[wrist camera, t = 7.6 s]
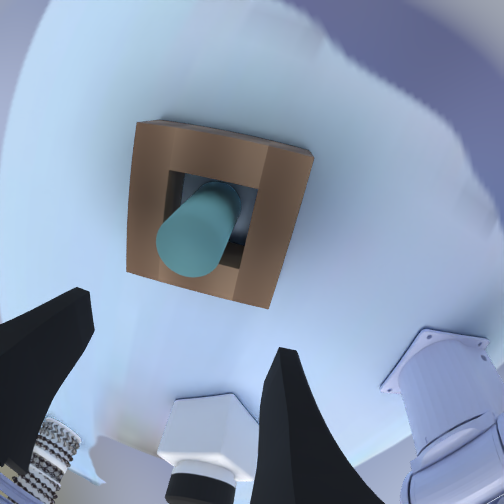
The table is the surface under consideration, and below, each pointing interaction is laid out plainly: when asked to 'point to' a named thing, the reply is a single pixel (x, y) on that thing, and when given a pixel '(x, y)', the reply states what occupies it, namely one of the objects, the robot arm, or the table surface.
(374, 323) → the table surface
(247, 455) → the medicine bottle
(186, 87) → the table surface
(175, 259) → the peg
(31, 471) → the decorative candle
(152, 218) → the socket block
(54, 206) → the table surface
